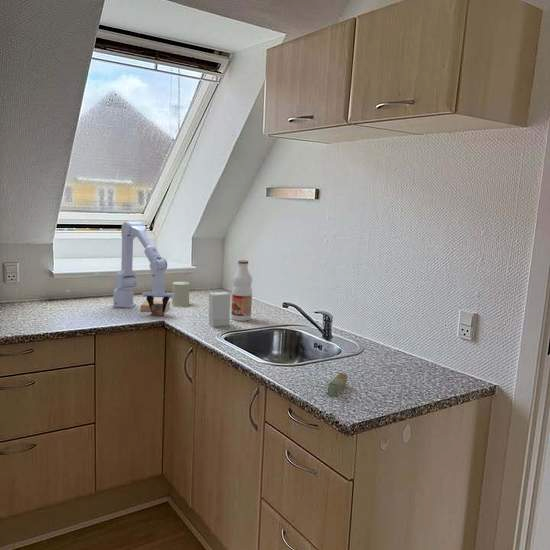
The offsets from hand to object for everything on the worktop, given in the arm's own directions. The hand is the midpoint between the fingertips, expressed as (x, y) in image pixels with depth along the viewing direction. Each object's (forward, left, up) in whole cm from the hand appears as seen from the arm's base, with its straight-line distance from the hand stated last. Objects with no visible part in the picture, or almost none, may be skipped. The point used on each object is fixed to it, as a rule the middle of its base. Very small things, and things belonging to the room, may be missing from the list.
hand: (157, 311), depth 250 cm
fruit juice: (+40, -1, -2) cm, 40 cm away
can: (+6, +26, -2) cm, 27 cm away
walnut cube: (0, 0, -1) cm, 1 cm away
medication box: (+76, -90, -2) cm, 118 cm away
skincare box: (+31, -15, -2) cm, 34 cm away
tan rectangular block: (-4, +12, -1) cm, 13 cm away
